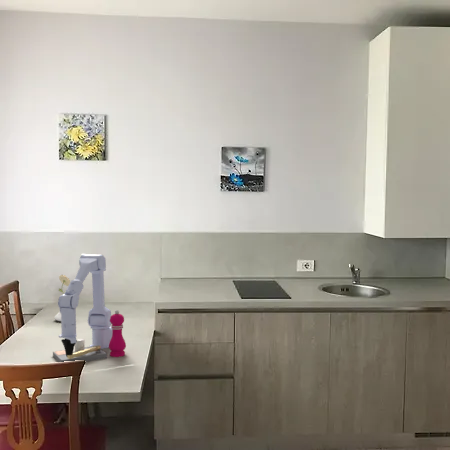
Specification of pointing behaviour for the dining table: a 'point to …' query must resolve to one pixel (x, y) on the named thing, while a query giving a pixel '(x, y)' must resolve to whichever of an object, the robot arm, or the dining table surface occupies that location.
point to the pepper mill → (117, 335)
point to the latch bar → (84, 352)
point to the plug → (79, 345)
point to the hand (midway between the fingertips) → (69, 356)
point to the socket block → (95, 355)
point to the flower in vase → (65, 282)
